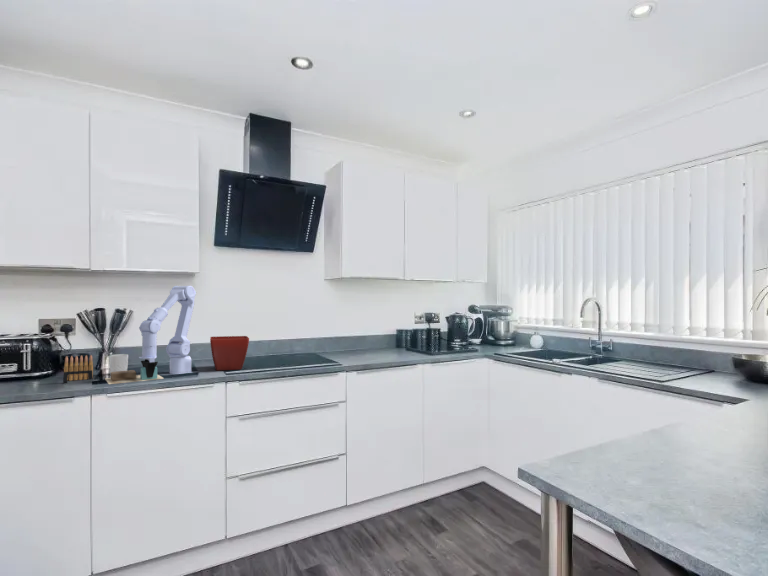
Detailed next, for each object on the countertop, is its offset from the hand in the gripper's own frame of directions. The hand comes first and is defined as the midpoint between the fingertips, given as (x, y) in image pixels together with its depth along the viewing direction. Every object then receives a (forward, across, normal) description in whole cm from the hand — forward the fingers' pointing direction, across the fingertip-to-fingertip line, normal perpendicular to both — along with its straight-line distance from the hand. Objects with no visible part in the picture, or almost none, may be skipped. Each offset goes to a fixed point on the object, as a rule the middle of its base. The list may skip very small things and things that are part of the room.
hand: (148, 376), depth 186 cm
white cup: (+2, -24, -9) cm, 26 cm away
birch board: (+2, -4, -5) cm, 7 cm away
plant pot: (+2, -12, +40) cm, 42 cm away
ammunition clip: (+2, -16, -25) cm, 30 cm away
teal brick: (+1, 0, 0) cm, 1 cm away
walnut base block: (+1, -7, -9) cm, 11 cm away
